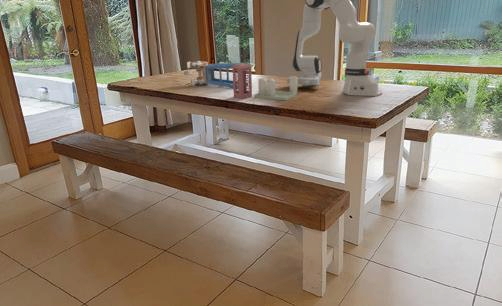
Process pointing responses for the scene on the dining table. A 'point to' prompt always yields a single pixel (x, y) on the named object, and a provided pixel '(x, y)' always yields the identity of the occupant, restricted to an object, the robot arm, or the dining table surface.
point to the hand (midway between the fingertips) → (297, 82)
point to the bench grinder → (210, 73)
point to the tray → (277, 95)
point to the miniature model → (242, 80)
